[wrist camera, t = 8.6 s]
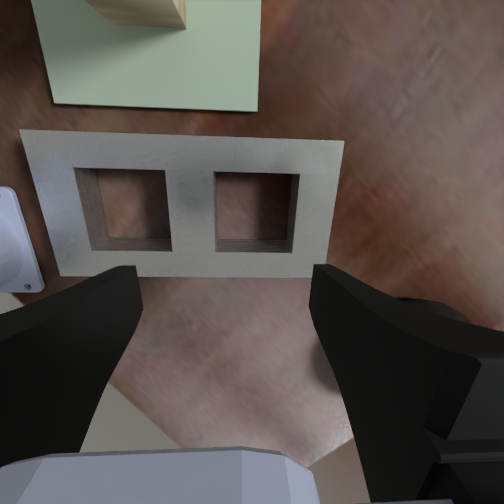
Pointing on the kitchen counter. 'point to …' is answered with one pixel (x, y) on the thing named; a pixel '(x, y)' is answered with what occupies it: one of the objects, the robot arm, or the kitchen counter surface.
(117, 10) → the peg
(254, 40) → the mat
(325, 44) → the kitchen counter surface
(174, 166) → the rail
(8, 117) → the kitchen counter surface
